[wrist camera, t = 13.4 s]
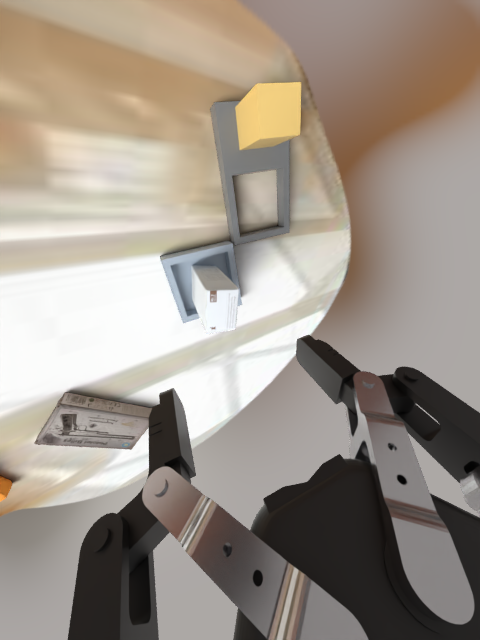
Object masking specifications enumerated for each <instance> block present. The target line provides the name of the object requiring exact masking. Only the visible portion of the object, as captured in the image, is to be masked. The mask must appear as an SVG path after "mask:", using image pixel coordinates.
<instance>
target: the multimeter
mask: <svg viewBox="0 0 480 640" xmlns="http://www.w3.org/2000/svg"><path fill="white" fill-rule="evenodd" d="M11 486H12V482H11V481H10V480H9V479H6V478H4V477H2V476H0V501H2V500H4V499H5V498H6V497H7V495H8V493H9V491H10V489H11Z"/></svg>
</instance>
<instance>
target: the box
mask: <svg viewBox="0 0 480 640" xmlns="http://www.w3.org/2000/svg"><path fill="white" fill-rule="evenodd" d="M151 410H152V408H147V407H143V406H138V405H131V404H126V403H121V402H115V401H109V400H104V399H98V398H95V397H87V396H83V395H79V394H72V393H64V395H63V397H62V398H61V399H60V400H59V401H58V403H57V407H55V409H54V411H53V412H52V414H51V416H50V417H49V419H48V421H47V422H46V424H45V425H44V427H43V428H42V430H41V432H40V433H39V435H38V437H37V439H36V441H35V443H36V444H38V445H41V444H43V445H57V446H59V445H61V446H79V447H98V448H116V449H132V448H133V446H134V445H135V444H136V442H137V441H138V440H139V439H140V437H141V436H142V435H143V434H144V432H145V431H146V430H147V428H148V427H149V415H150V413H151ZM35 443H34V444H35Z"/></svg>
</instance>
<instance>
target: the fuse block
mask: <svg viewBox="0 0 480 640" xmlns="http://www.w3.org/2000/svg"><path fill="white" fill-rule="evenodd" d="M210 111H211V117H212V124H213V130H214V137H215V143H216V150H217V156H218V162H219V169H220V175H221V182H222V188H223V195H224V201H225V208H226V214H227V221H228V227H229V234H230V240H231V243H233V245H239V244H243V243H247V242H251V241H256V240H260V239H264V238H268V237H272V236H277V235H281V234H285V233H289V140H290V139H292V138H294V137H296V136H298V135H300V118H301V82H290V83H263V84H256V85H255V86H254V87H253V88H252V89H251V90H250V92H249V93H248V94H247V95H246V96H245V97H244V98H243V99H242V100H241V101H231V102H214V104H213V105H212V107H211V108H210ZM276 169H277V204H278V226H276V227H272V228H267V229H263V230H259V231H254V232H250V233H245V234H241V235H240V233H239V226H238V218H237V210H236V202H235V194H234V187H233V179H232V176H237V175H243V174H250V173H257V172H263V171H270V170H276Z"/></svg>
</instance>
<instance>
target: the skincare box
mask: <svg viewBox="0 0 480 640" xmlns="http://www.w3.org/2000/svg"><path fill="white" fill-rule="evenodd" d="M191 273H192V300H193V302H194V305H195V307H196V310H197V312H198V315H199V317H200V320H201V323H202V325H203V328H204V330H205V333H206V334H209V333H217V332H224V331H231V330H236V320H237V307H238V294H239V288H238V287H237V286H236V285H235V284H234V283H233V282H232V281H231V280H230V279H229V278H228V277H227V276H226V275H225V274H224V273H223V272H222V271H221V270H220V269H219V268H218V267H217V266H208V265H207V266H206V265H205V266H204V265H192V266H191Z"/></svg>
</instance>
